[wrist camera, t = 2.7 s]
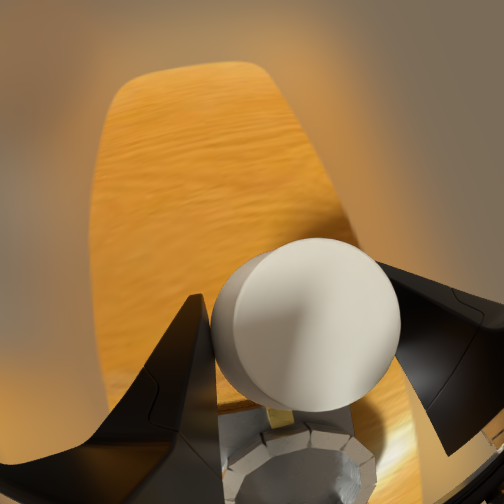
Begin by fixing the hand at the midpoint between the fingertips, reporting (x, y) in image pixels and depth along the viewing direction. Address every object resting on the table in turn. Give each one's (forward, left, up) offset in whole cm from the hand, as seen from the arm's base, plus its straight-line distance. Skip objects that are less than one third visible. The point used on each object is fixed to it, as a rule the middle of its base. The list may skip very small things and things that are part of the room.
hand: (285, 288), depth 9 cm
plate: (-12, 0, -7) cm, 14 cm away
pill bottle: (-1, 0, -7) cm, 7 cm away
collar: (-11, 0, -6) cm, 12 cm away
